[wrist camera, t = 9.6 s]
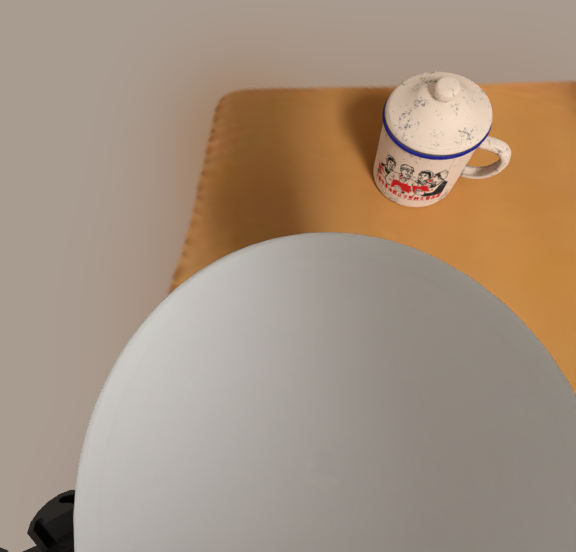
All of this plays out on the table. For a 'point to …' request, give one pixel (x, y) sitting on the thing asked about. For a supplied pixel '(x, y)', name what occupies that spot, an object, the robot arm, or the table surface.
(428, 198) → the teacup with lid
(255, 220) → the table surface
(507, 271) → the table surface
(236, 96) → the table surface
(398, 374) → the supplement tub
